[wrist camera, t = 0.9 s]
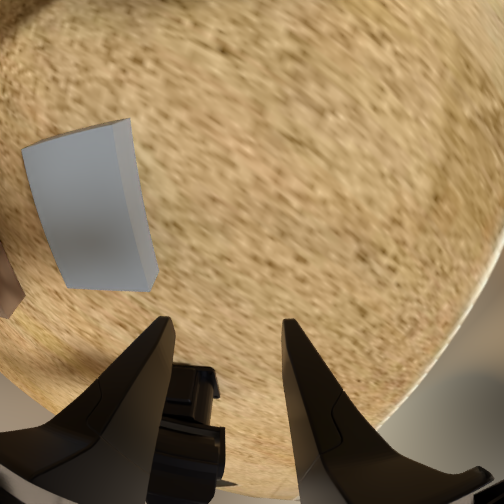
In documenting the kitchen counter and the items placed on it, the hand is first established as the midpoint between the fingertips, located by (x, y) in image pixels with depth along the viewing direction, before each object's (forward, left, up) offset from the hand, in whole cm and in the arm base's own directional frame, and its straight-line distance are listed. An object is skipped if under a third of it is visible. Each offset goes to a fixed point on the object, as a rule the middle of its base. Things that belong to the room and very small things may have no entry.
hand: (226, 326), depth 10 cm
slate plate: (0, +11, -12) cm, 16 cm away
